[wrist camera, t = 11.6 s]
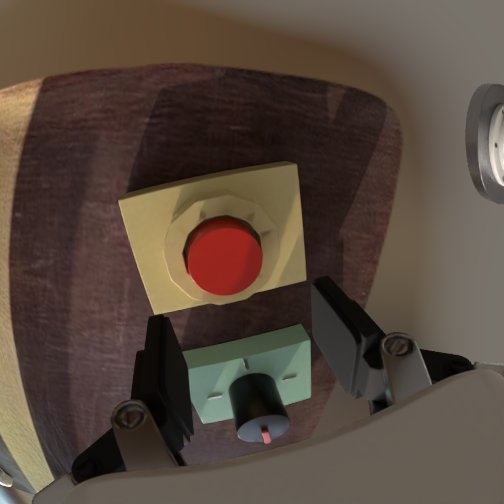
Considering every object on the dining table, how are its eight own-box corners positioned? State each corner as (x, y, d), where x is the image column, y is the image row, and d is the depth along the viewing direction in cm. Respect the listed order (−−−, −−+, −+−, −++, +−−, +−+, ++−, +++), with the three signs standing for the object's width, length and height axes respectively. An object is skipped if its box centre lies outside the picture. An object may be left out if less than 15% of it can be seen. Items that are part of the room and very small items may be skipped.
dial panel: (301, 323, 27) (311, 340, 25) (303, 381, 31) (311, 398, 28) (176, 352, 25) (177, 372, 23) (201, 406, 29) (203, 424, 27)
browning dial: (223, 379, 24) (232, 426, 20) (272, 367, 25) (289, 411, 20) (233, 407, 26) (243, 449, 22) (277, 395, 27) (293, 436, 22)
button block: (286, 160, 21) (307, 167, 17) (297, 268, 24) (315, 292, 21) (124, 193, 19) (111, 207, 15) (156, 299, 23) (152, 329, 19)
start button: (251, 212, 18) (257, 220, 16) (260, 274, 20) (266, 287, 18) (180, 226, 17) (180, 236, 16) (196, 288, 19) (197, 302, 18)
